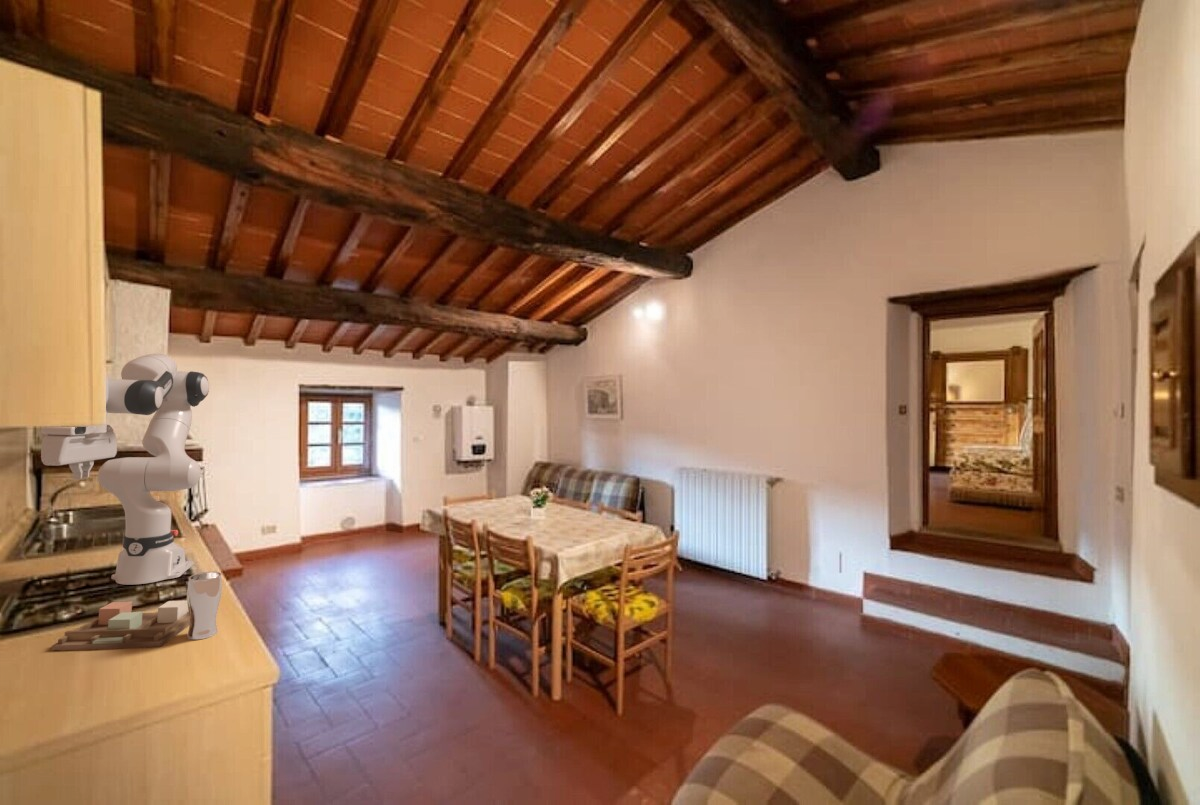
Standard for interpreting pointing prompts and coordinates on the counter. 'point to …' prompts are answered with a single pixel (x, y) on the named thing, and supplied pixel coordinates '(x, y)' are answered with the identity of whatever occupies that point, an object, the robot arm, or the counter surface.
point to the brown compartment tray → (122, 635)
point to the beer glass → (203, 604)
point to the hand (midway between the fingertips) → (80, 478)
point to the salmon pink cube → (113, 611)
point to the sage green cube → (125, 621)
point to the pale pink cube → (171, 611)
